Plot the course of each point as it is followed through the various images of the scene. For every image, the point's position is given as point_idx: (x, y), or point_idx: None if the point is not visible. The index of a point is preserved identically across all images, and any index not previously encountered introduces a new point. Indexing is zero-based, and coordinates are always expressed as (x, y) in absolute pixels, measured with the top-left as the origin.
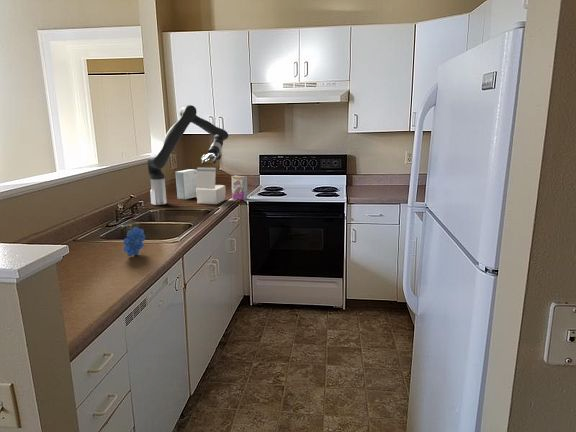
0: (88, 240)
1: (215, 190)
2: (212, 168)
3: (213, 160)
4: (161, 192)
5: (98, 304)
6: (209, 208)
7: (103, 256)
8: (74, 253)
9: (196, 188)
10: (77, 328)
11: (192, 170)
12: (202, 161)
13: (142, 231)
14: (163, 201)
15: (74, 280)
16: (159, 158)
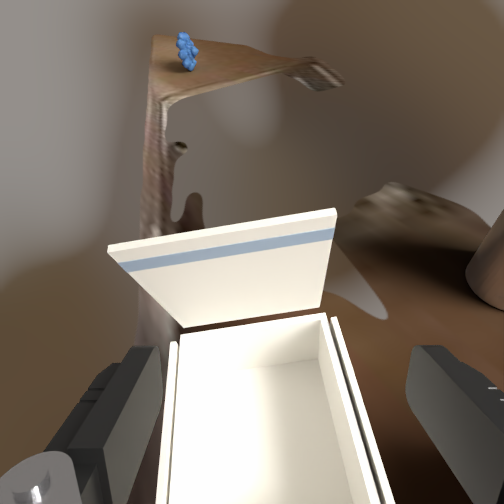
0: (294, 67)
1: (186, 336)
2: (146, 243)
3: (134, 361)
4: (494, 226)
5: (162, 42)
6: None
7: (224, 60)
8: (265, 54)
9: (332, 317)
10: (157, 35)
11: None
12: (472, 375)
13: (176, 43)
14: (471, 266)
15: (207, 43)
16: None
